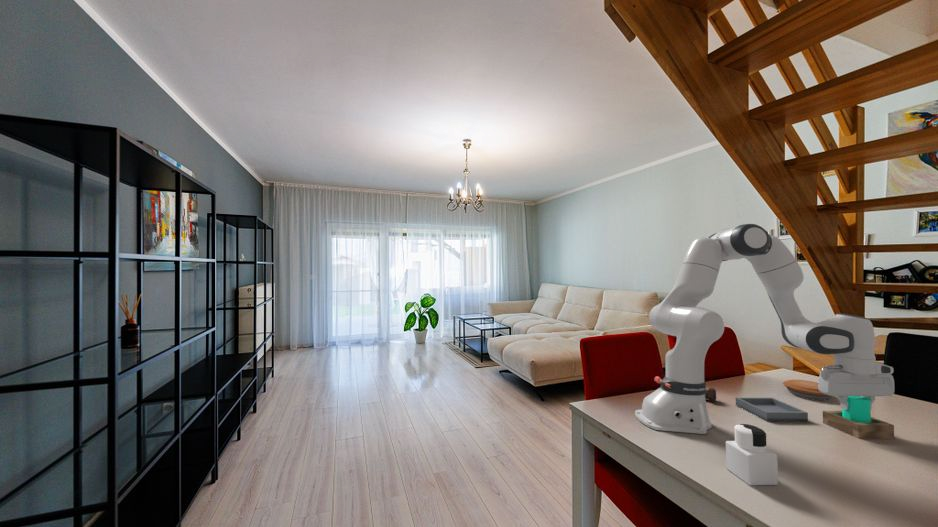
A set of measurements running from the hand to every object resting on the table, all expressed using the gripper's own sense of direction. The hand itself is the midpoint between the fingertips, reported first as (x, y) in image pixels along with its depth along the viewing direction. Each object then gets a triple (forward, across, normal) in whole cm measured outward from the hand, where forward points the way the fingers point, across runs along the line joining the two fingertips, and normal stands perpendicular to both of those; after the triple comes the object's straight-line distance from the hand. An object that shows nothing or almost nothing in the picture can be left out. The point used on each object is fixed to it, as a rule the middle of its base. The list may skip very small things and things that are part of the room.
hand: (856, 409), depth 107 cm
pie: (+7, +15, +31) cm, 35 cm away
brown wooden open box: (+7, 0, 0) cm, 7 cm away
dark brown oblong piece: (+7, -33, +29) cm, 45 cm away
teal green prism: (+7, 0, 0) cm, 7 cm away
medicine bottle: (+7, -53, -25) cm, 59 cm away
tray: (+7, -16, +13) cm, 22 cm away
